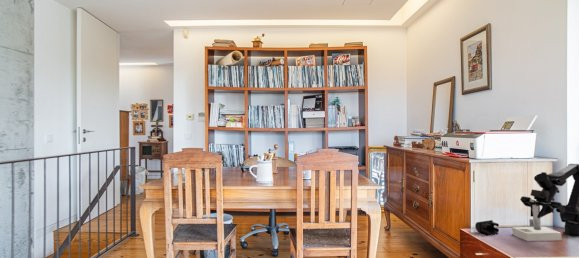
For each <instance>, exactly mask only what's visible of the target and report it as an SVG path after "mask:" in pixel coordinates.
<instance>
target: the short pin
mask: <svg viewBox="0 0 579 258" xmlns="http://www.w3.org/2000/svg"><path fill="white" fill-rule="evenodd" d="M528 221H529V227H533V218H532V219H531V218H530V219H529V220H528Z"/></svg>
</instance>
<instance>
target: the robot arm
mask: <svg viewBox="0 0 579 258" xmlns="http://www.w3.org/2000/svg"><path fill="white" fill-rule="evenodd" d="M570 177H572V178H573V180H574V182H573V185H572V188H571V189H572V190H571V192H570V195H569V198H568V202H567V204H565V205H564V204H562V203H561V202H558V201H555V198H554V197H555V196H556V194H557V193H558V194H560V190H559V187H563V186H564V185H565V184H566V183H567V179H569V178H570ZM533 179H534V181H535V182H536V183H537V185H538V186H539V187H540V188H541V190H538V189H531V192H530V196H532V197H533V199H532V198H531V197H529V196H521V197H520V199H519V200H520V202H521V203H522V204H523V205H524V206H526V207H528V208H529V207H530V217H532V218H533V208H532V205H539V206H540V207H541V208H540V213H539V214H538V218H540V219H541V218H544V217H545V216H547V215H549V214H552V213H554V210H555V211H556V212H557V213H559V217H560V221H561V222H562V223H564V231H562V233H563V234H566V235H569V236H572V237H579V163H569V164H568V165H567V166H565V167H564V168H562V169H560V170H559V171H558V172H557V171H556V172H551V173H548V174H547V172H546V171H545V172H543V171H542V172H540V173H538V174H535V176H534V177H533ZM557 186H558V187H557Z"/></svg>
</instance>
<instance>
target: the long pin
mask: <svg viewBox="0 0 579 258" xmlns="http://www.w3.org/2000/svg"><path fill="white" fill-rule="evenodd" d="M532 208H533V217H532V219H533V229H535V230H541V227H542V225H541V218H538V214H539V213H540V211H541V206H539V205H532Z"/></svg>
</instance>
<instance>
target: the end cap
mask: <svg viewBox="0 0 579 258" xmlns="http://www.w3.org/2000/svg"><path fill="white" fill-rule="evenodd" d="M499 225H500V224H499V223H496V222H494V221H493V219H491V220H490V219H489V220H483V221H477V222H475V225H474V227H475V230H476V231H477V232H478V233H479V234H480V235H483V236H486V237H488V236H495V234H496V235H499V232H500V229H499V228H496V227H499Z"/></svg>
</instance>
